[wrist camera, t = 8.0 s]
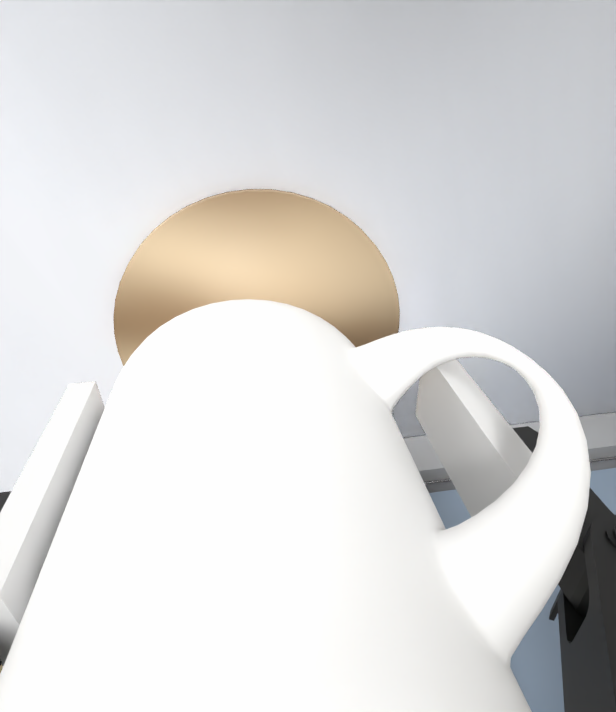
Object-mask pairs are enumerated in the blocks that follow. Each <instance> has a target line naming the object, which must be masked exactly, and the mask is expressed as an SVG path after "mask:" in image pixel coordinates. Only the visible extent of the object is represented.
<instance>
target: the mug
mask: <svg viewBox="0 0 616 712" xmlns="http://www.w3.org/2000/svg"><path fill="white" fill-rule="evenodd" d="M469 357H478V358H488V359H492V360H495V361H499V362H502V363H504V364H506V365H507V366H509V367H511V368H513V369H515V370H516V371H517V372H518V373H519V374H520V375H521V376H522V377H523V378H524V379H525V380H526V381H527V383H528V384H529V386H530V388H531V389H532V391H533V392H534V395H535V398H536V401H537V405H538V408H539V420H540V429H539V434H538V438H537V443H536V447H535V449H534V451H533V453H532V456H531V458H530V460H529V462H528V464H527V466H526V467H525V469H524V470H523V471H522V473H521V474H520V475H519V477H518V478H517V480H516V481H515V482H514V484H513V485H512V486H511V487H509V488H508V489H507V490H506V491H505V492H504V493H503V494H502V495H501V496H500V497H499V498H498V499H497V500H496V501H494V502H493V503H492V504H490V505H489V506H488V507H486V508H485V509H483V510H482V511H481V512H479V513H478V514H477V515H475V516H473V517H471V518H469V519H468V520H466V521H464V522H462V523H461V524H459V525H456V526H454V527H451V528H448V529H446V528H445V526H444V524H443V522H442V520H441V518H440V516H439V513H438V511H437V509H436V507H435V505H434V503H433V501H432V498H431V496H430V494H429V492H428V490H427V488H426V486H425V484H424V481H423V479H422V477H421V475H420V473H419V471H418V469H417V467H416V464H415V462H414V460H413V458H412V456H411V454H410V452H409V450H408V447H407V445H406V443H405V441H404V439H403V437H402V435H401V433H400V430H399V428H398V426H397V424H396V422H395V420H394V418H393V416H392V411H393V408H394V407H395V405H396V404H397V402H398V401H399V400H400V398H401V397H402V396H403V395H404V394H405V393H406V391H407V390H408V389H409V388H410V387H411V386H412V385H413V384H414V383H415V382H416V381H417V380H418V379H419V378H421V377H422V376H423V375H424V374H425V373H427V372H428V371H430V370H431V369H433V368H435V367H436V366H439V365H441V364H443V363H445V362H448V361H452V360H455V359H459V358H469ZM590 477H591V470H590V462H589V454H588V446H587V440H586V437H585V434H584V431H583V428H582V425H581V422H580V420H579V417H578V414H577V412H576V410H575V409H574V407H573V405H572V404H571V402H570V400H569V399H568V397H567V395H566V394H565V392H564V391H563V389H562V388H561V387H560V386H559V385H558V384H557V383H556V381H555V380H554V379H553V378H552V377H551V376H550V375H549V374H548V373H547V372H546V371H545V370H544V369H543V368H542V367H540V366H539V365H538V364H537V363H536V362H534V361H533V360H532V359H531V358H530V357H528V356H527V355H525V354H524V353H522V352H521V351H519V350H517V349H516V348H514V347H513V346H511V345H509V344H507V343H505V342H503V341H501V340H499V339H497V338H494V337H492V336H489V335H486V334H483V333H480V332H477V331H472V330H468V329H463V328H454V327H425V328H419V329H413V330H407V331H403V332H400V333H396V334H392V335H389V336H386V337H383V338H380V339H378V340H375V341H372V342H370V343H367V344H365V345H362V346H359V347H355V346H354V345H353V344H352V343H351V341H350V340H349V339H348V338H347V337H346V336H345V335H343V334H342V333H341V332H340V331H339V330H338V329H336V328H335V327H334V326H333V325H331V324H330V323H328V322H327V321H325V320H323V319H322V318H320V317H319V316H316V315H314V314H312V313H310V312H308V311H306V310H304V309H301V308H298V307H295V306H292V305H289V304H285V303H279V302H274V301H269V300H254V299H243V300H228V301H223V302H217V303H211V304H208V305H205V306H202V307H198V308H195V309H192V310H190V311H188V312H185V313H183V314H181V315H179V316H176V317H175V318H173V319H171V320H170V321H168V322H166V323H165V324H163V325H162V326H160V327H159V328H158V329H156V330H155V331H154V332H153V333H152V334H150V335H149V336H148V337H147V338H146V339H145V340H144V341H143V342H142V343H141V345H140V346H139V347H138V348H137V349H136V350H135V351H134V352H133V354H132V355H131V356H130V358H129V359H128V361H127V362H126V364H125V365H124V367H123V368H122V370H121V372H120V374H119V376H118V378H117V380H116V383H115V385H114V387H113V389H112V392H111V394H110V396H109V399H108V401H107V403H106V406H105V409H104V411H103V414H102V416H101V419H100V421H99V424H98V426H97V429H96V432H95V434H94V437H93V439H92V442H91V444H90V447H89V449H88V452H87V454H86V457H85V460H84V462H83V465H82V467H81V470H80V472H79V475H78V477H77V480H76V483H75V485H74V488H73V490H72V493H71V495H70V498H69V500H68V503H67V505H66V508H65V511H64V513H63V516H62V518H61V521H60V523H59V526H58V528H57V531H56V534H55V536H54V539H53V541H52V544H51V546H50V549H49V551H48V554H47V557H46V559H45V562H44V564H43V567H42V569H41V572H40V574H39V577H38V579H37V582H36V585H35V587H34V590H33V592H32V595H31V597H30V600H29V602H28V605H27V608H26V610H25V613H24V615H23V618H22V620H21V623H20V625H19V628H18V630H17V633H16V636H15V638H14V641H13V643H12V646H11V648H10V651H9V653H8V656H7V659H6V661H5V664H4V666H3V669H2V671H1V674H0V712H532V711H531V709H530V707H529V705H528V703H527V701H526V699H525V697H524V695H523V693H522V691H521V689H520V687H519V685H518V682H517V680H516V678H515V676H514V674H513V672H512V670H511V668H510V663H511V657H512V655H513V653H514V652H515V650H516V648H517V647H518V645H519V644H520V642H521V640H522V639H523V637H524V636H525V634H526V633H527V631H528V630H529V628H530V627H531V625H532V624H533V622H534V621H535V620H536V618H537V617H538V615H539V614H540V612H541V611H542V609H543V608H544V606H545V604H546V603H547V601H548V599H549V598H550V596H551V595H552V593H553V591H554V590H555V588H556V586H557V585H558V583H559V581H560V580H561V578H562V576H563V574H564V572H565V570H566V567H567V565H568V563H569V561H570V559H571V557H572V555H573V553H574V550H575V548H576V546H577V544H578V541H579V537H580V534H581V530H582V526H583V523H584V519H585V516H586V512H587V509H588V499H589V488H590Z"/></svg>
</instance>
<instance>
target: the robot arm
mask: <svg viewBox="0 0 616 712" xmlns="http://www.w3.org/2000/svg"><path fill="white" fill-rule="evenodd" d="M104 409H105V407H104V404H103V401H102V398H101V395H100V392H99V389H98V387H97V384H96V381H94V382H84V383H74V384H69V385H68V387H67V389H66V391H65V392H64V394H63V396H62V398H61V400H60V402H59V404H58V406H57V407H56V409H55V411H54V413H53V415H52V417H51V419H50V420H49V422H48V424H47V426H46V428H45V430H44V432H43V434H42V435H41V437H40V439H39V441H38V443H37V445H36V447H35V448H34V450H33V452H32V454H31V456H30V458H29V460H28V462H27V463H26V465H25V467H24V469H23V471H22V473H21V475H20V476H19V478H18V480H17V482H16V484H15V486H14V488H13V489H12V491H10V492H2V493H0V665H1V664H2V666H4V664H5V661H6V659H7V656H8V653H9V651H10V648H11V646H12V643H13V641H14V638H15V636H16V633H17V630H18V628H19V625H20V623H21V620H22V618H23V615H24V613H25V610H26V608H27V605H28V602H29V600H30V597H31V595H32V592H33V590H34V587H35V585H36V582H37V579H38V577H39V574H40V572H41V569H42V567H43V564H44V562H45V559H46V557H47V554H48V551H49V549H50V546H51V544H52V541H53V539H54V536H55V534H56V531H57V528H58V526H59V523H60V521H61V518H62V516H63V513H64V511H65V508H66V505H67V503H68V500H69V498H70V495H71V493H72V490H73V488H74V485H75V483H76V480H77V477H78V475H79V472H80V470H81V467H82V465H83V462H84V460H85V457H86V454H87V452H88V449H89V447H90V444H91V442H92V439H93V437H94V434H95V432H96V429H97V426H98V424H99V421H100V419H101V416H102V414H103V411H104ZM415 415H416V417H417V419H418V421H419V422H420V424H421V426H422V428H423V430H424V432H425V433H426V435H427V437H428V439H429V441H430V443H431V444H432V446H433V448H434V450H435V452H436V454H437V455H438V457H439V459H440V461H441V463H442V464H443V466H444V468H445V470H446V472H447V474H448V475H449V477H450V479H451V481H452V483H453V485H454V486H455V488H456V490H457V492H458V494H459V496H460V497H461V499H462V501H463V503H464V505H465V506H466V508H467V510H468V512H469V514H470V516H471V517H473V516H475V515H477V514H478V513H479V512H481V511H482V510H483V509H485V508H486V507H488V506H489V505H490V504H492V503H493V502H494V501H496V500H497V499H498V498H499V497H500V496H501V495H502V494H503V493H504V492H505V491H506V490H507V489H508V488H509V487H511V486H512V485H513V484H514V482H515V481H516V480H517V478H518V477H519V475H520V474H521V473H522V471H523V470H524V469H525V467H526V466H527V464H528V462H529V460H530V458H531V456H532V453H533V451H534V449H535V447H536V443H537V438H538V434H539V433H538V432H537V431H535V430H533V429H532V428H530V427H529V426H526V427H517V428H512V427H511V426H510V425H509V423H508V422H507V421H506V420H505V418H504V417H503V416H502V415H501V414H500V412H499V411H498V410H497V409H496V407H495V406H494V405H493V404H492V402H491V401H490V400H489V399H488V397H487V396H486V395H485V394H484V392H483V391H482V390H481V389H480V387H479V386H478V385H477V384H476V382H475V381H474V380H473V379H472V378H471V376H470V375H469V374H468V373H467V371H466V370H465V369H464V368H463V366H462V365H461V364H460V363H459V361H458V360H457V359H455V360H452V361H448V362H445V363H443V364H441V365H439V366H436V367H435V368H433V369H431V370H430V371H428V372H427V373H425V374H424V375H423V376H422V377H421V378H420V380H419V388H418V396H417V404H416V412H415ZM558 585H559V587H560V588H561V589H560V591H559V593H558V595H557V597H556V600H555V602H554V604H553V606H552V608H551V610H550V615H549V620H552V621H554V620H555V618H556V616H557V614H558V619H559V634H560V650H561V665H562V680H563V696H564V711H565V712H616V515H614V514H613V513H612V512H611V511H610V510H609V509H608V507H607V506H606V505H605V504H604V503H603V502H602V501H601V499H600V498H599V497H598V496H597V495H596V494H595V493H594V491H593V490H592V489H591V488H589V499H588V509H587V512H586V516H585V519H584V523H583V526H582V530H581V534H580V537H579V541H578V544H577V546H576V548H575V550H574V553H573V555H572V557H571V559H570V561H569V563H568V565H567V567H566V570H565V572H564V574H563V576H562V578H561V580H560V581H559V583H558Z"/></svg>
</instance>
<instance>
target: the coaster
mask: <svg viewBox="0 0 616 712" xmlns="http://www.w3.org/2000/svg"><path fill="white" fill-rule="evenodd" d="M243 299H254V300H269V301H274V302H279V303H285V304H289V305H292V306H295V307H298V308H301V309H304V310H306V311H308V312H310V313H312V314H314V315H316V316H319V317H320V318H322V319H323V320H325V321H327V322H328V323H330V324H331V325H333V326H334V327H335V328H336V329H338V330H339V331H340V332H341V333H342V334H343V335H345V336H346V337H347V338H348V339H349V340H350V341H351V343H352V344H353V345H354V346H355V347H359V346H362V345H365V344H367V343H370V342H372V341H375V340H378V339H380V338H383V337H386V336H389V335H392V334H396V333H398V329H399V302H398V294H397V290H396V286H395V283H394V279H393V276H392V274H391V272H390V269H389V267H388V265H387V263H386V261H385V259H384V258H383V256H382V255H381V253H380V251H379V250H378V248H377V247H376V245H375V244H374V243H373V242H372V241H371V240H370V239H369V237H368V236H367V235H366V234H365V233H364V232H363V231H362V229H360V228H359V227H358V226H357V225H356V224H355V223H353V222H352V221H351V220H350V219H349V218H348V217H346V216H345V215H343V214H341V213H340V212H338V211H337V210H335V209H333V208H332V207H330V206H328V205H326V204H324V203H321V202H319V201H317V200H315V199H312V198H309V197H306V196H302V195H299V194H296V193H292V192H286V191H279V190H272V189H247V190H239V191H231V192H226V193H222V194H218V195H215V196H211V197H207V198H205V199H202V200H200V201H198V202H195V203H193V204H191V205H188V206H186V207H185V208H183V209H182V210H180V211H178V212H177V213H175V214H173V215H172V216H170V217H169V218H167V219H166V220H165V221H164V222H163V223H161V224H160V225H159V226H158V227H157V228H155V229H154V230H153V231H152V232H151V233H150V235H149V236H148V237H147V238H146V239H145V240H144V241H143V242H142V244H141V245H140V246H139V248H138V249H137V251H136V252H135V254H134V255H133V257H132V259H131V260H130V262H129V264H128V265H127V268H126V270H125V272H124V274H123V277H122V279H121V281H120V284H119V288H118V292H117V296H116V299H115V308H114V334H115V339H116V344H117V348H118V352H119V355H120V358H121V360H122V363H123V366H124V365H125V364H126V362H127V361H128V359H129V358H130V356H131V355H132V354H133V352H134V351H135V350H136V349H137V348H138V347H139V346H140V345H141V343H142V342H143V341H144V340H145V339H146V338H147V337H148V336H149V335H150V334H152V333H153V332H154V331H155V330H156V329H158V328H159V327H160V326H162V325H163V324H165V323H166V322H168V321H170V320H171V319H173V318H175V317H176V316H179V315H181V314H183V313H185V312H188V311H190V310H192V309H195V308H198V307H202V306H205V305H208V304H211V303H217V302H223V301H228V300H243Z"/></svg>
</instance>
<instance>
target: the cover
mask: <svg viewBox="0 0 616 712" xmlns="http://www.w3.org/2000/svg"><path fill="white" fill-rule="evenodd" d="M590 470H591V477H590V488H591V489H592V490H593V491H594V493H595V494H596V495H597V496H598V497H599V498H600V499H601V501H602V502H603V503H604V504H605V505H606V506H607V507H608V509H609V510H610V511H611V512H612V513H613V514H614V515H616V459H609V460H601V461H594V462H590ZM425 486H426V488H427V490H428V492H429V494H430V496H431V498H432V501H433V503H434V505H435V507H436V509H437V511H438V513H439V516H440V518H441V520H442V522H443V524H444V526H445V528H446V529H448V528H451V527H454V526H456V525H459V524H461V523H462V522H464V521H466V520H468V519H469V518H471V516H470V514H469V512H468V510H467V508H466V506H465V505H464V503H463V501H462V499H461V497H460V496H459V494H458V492H457V490H456V488H455V486H454V485H453V483H452V481H443V482H436V483H428V484H425ZM560 589H561V588H560V587H559V585H557V586H556V588H555V590H554V591H553V593H552V595H551V596H550V598H549V599H548V601H547V603H546V604H545V606H544V608H543V609H542V611H541V612H540V614H539V615H538V617H537V618H536V620H535V621H534V622H533V624H532V625H531V627H530V628H529V630H528V631H527V633H526V634H525V636H524V637H523V639H522V640H521V642H520V644H519V645H518V647H517V648H516V650H515V652H514V653H513V655H512V657H511V663H510V668H511V670H512V672H513V674H514V676H515V678H516V680H517V682H518V685H519V687H520V689H521V691H522V693H523V695H524V697H525V699H526V701H527V703H528V705H529V707H530V709H531V711H532V712H565V711H564V696H563V680H562V665H561V650H560V634H559V619H558V614H557V616H556V618H555V620H554V621H552V620H549V615H550V610H551V608H552V606H553V604H554V602H555V600H556V597H557V595H558V593H559V591H560Z"/></svg>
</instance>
